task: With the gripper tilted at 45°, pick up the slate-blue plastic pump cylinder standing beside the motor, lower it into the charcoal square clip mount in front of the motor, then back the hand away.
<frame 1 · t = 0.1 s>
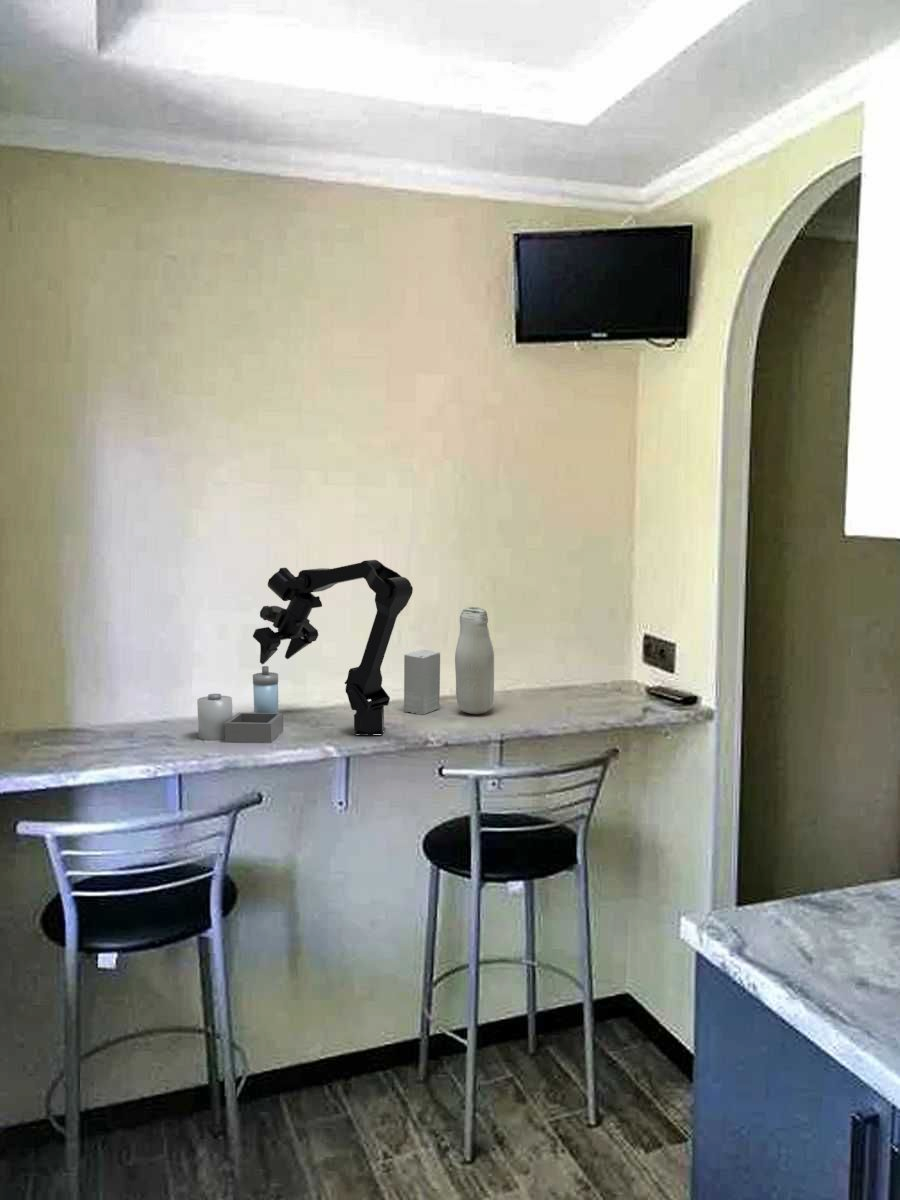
hand: (274, 660, 244), 15 cm above the table, tool tilted 35°, fingers open, 9 cm apart
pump: (266, 726, 236), on the table
motor mount: (242, 736, 226), on the table
skincare box: (422, 711, 252), on the table
glass bottle: (474, 714, 249), on the table
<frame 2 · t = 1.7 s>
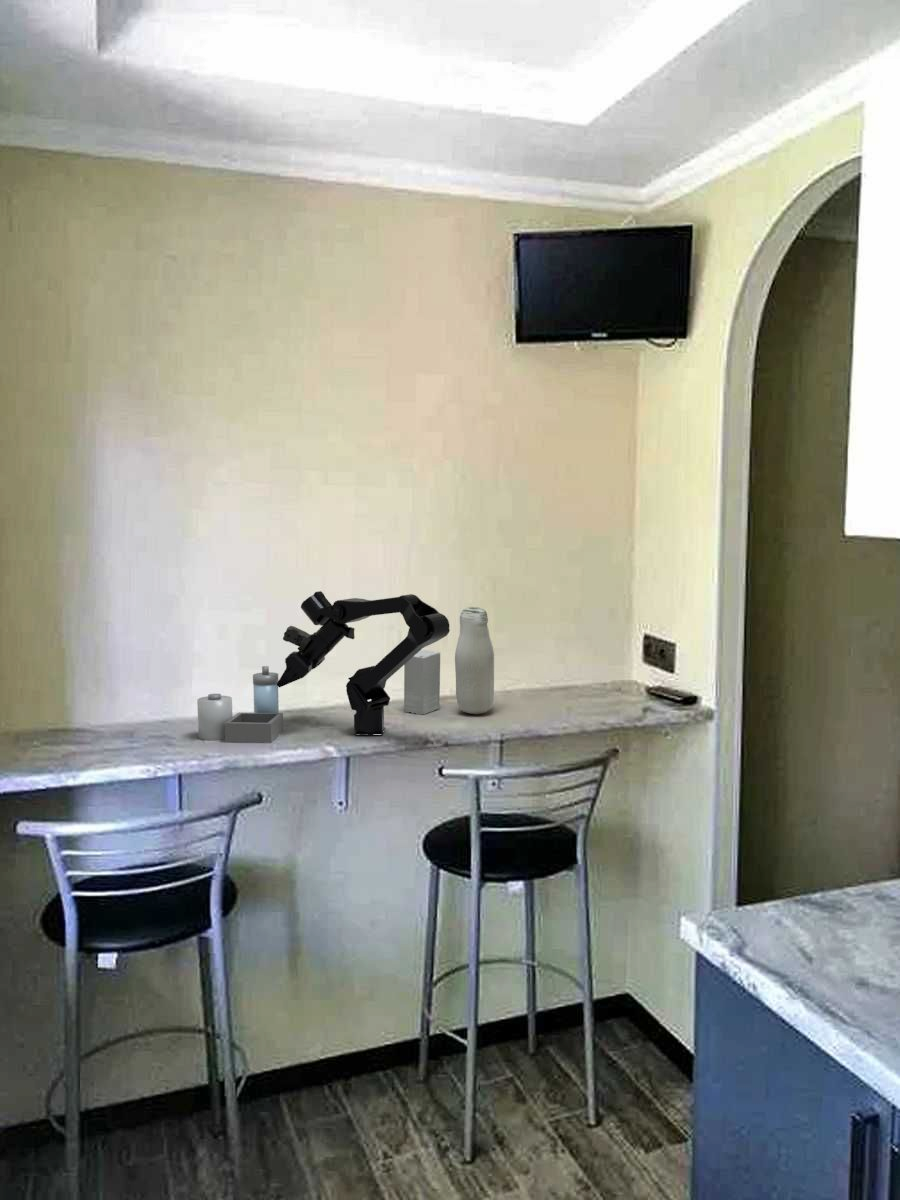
hand: (283, 682, 235), 11 cm above the table, tool tilted 45°, fingers open, 9 cm apart
nothing on the table moved.
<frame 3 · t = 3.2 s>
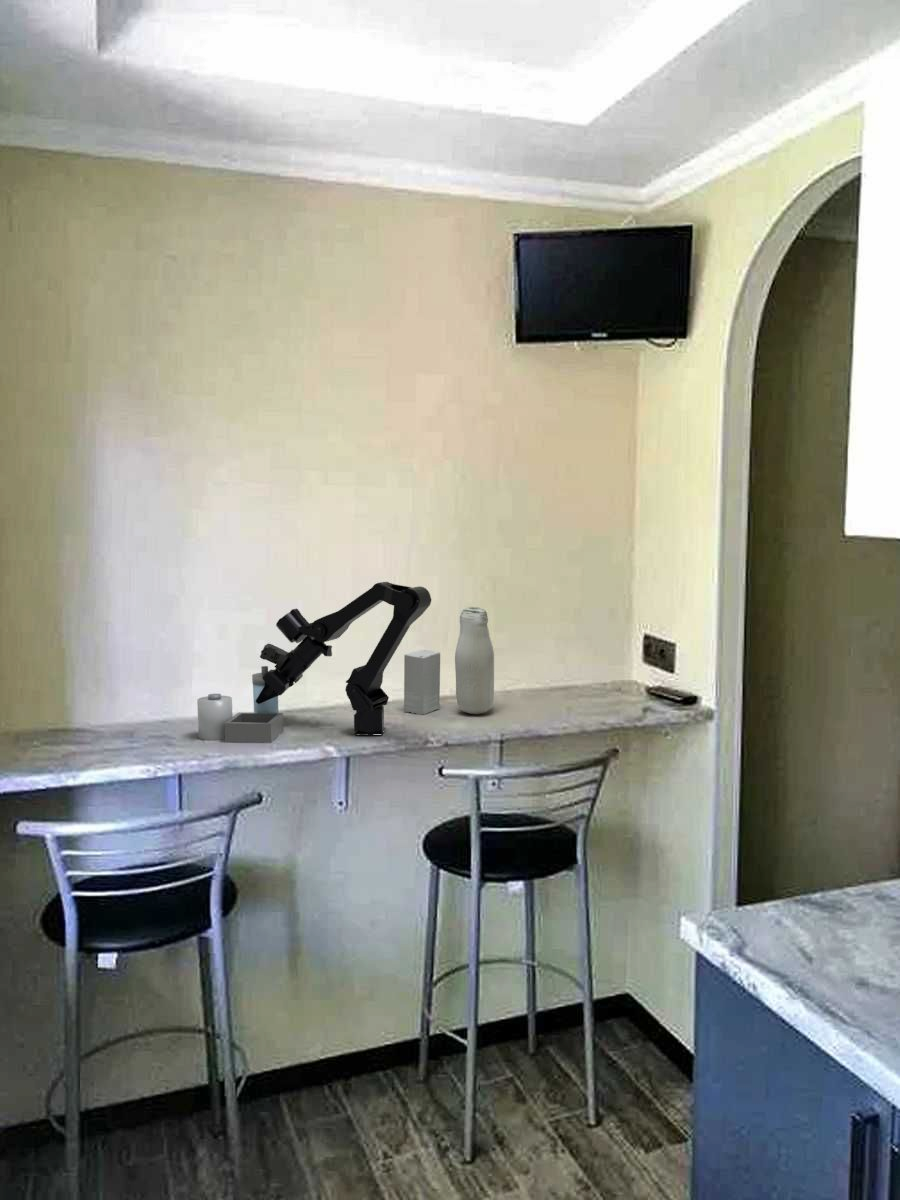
hand: (260, 699, 236), 7 cm above the table, tool tilted 45°, fingers closed on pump, 6 cm apart
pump: (266, 725, 236), on the table, touching gripper
everything else where it was.
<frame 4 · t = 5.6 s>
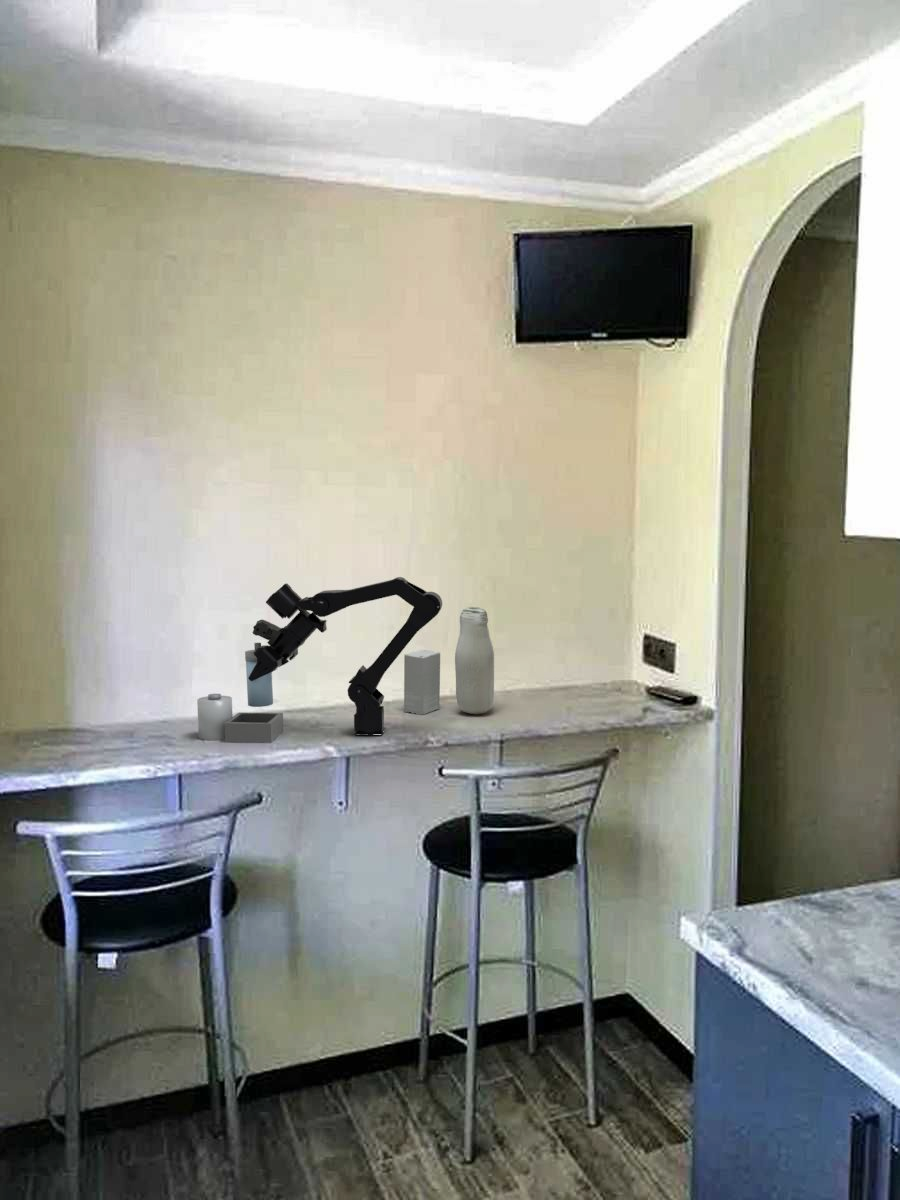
hand: (253, 677, 230), 13 cm above the table, tool tilted 45°, fingers closed on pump, 6 cm apart
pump: (260, 704, 230), point 7 cm above the table, touching gripper
everything else where it was.
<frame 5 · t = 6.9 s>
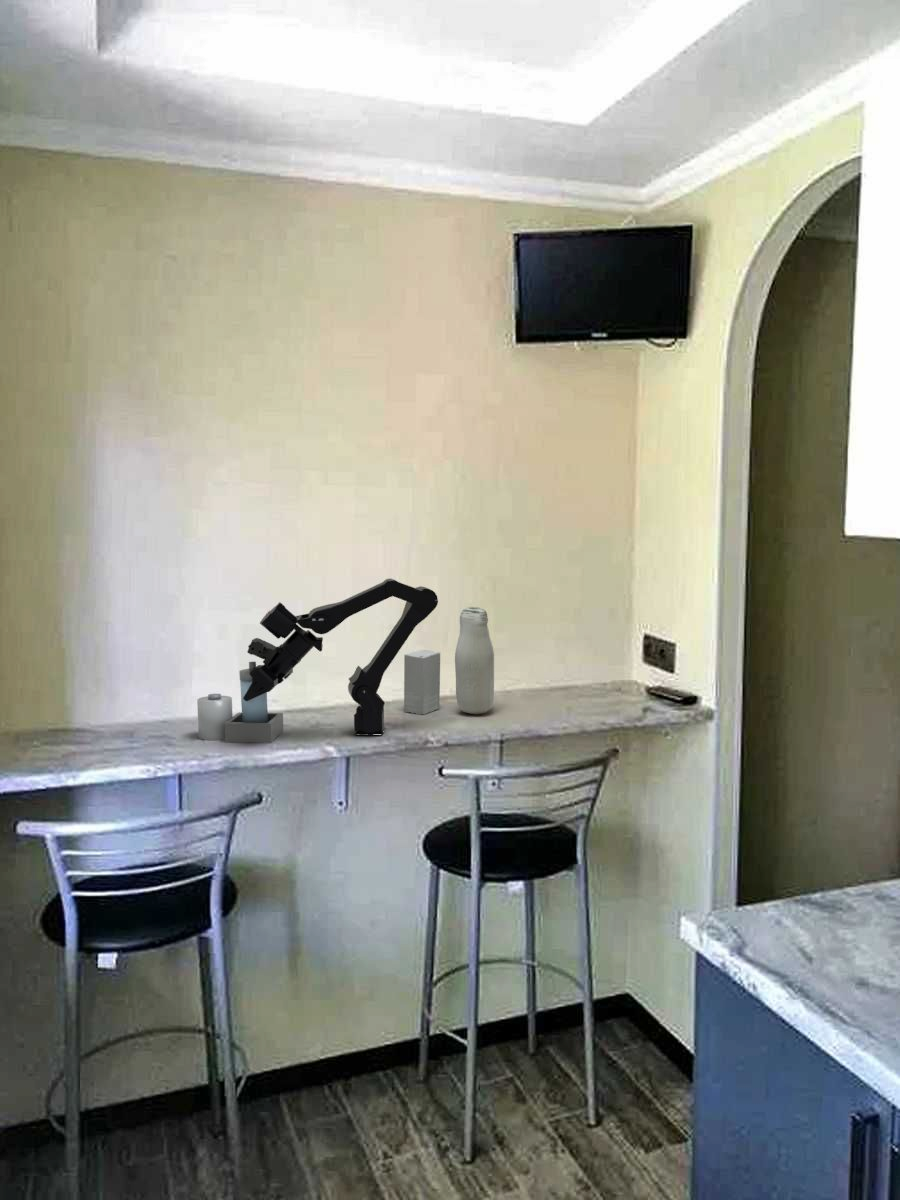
hand: (248, 697, 225), 10 cm above the table, tool tilted 45°, fingers closed on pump, 6 cm apart
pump: (255, 724, 226), point 3 cm above the table, touching gripper
everything else where it was.
when the fingers open (9 cm above the table, at t = 7.5 s): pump drops 1 cm, resting on motor mount.
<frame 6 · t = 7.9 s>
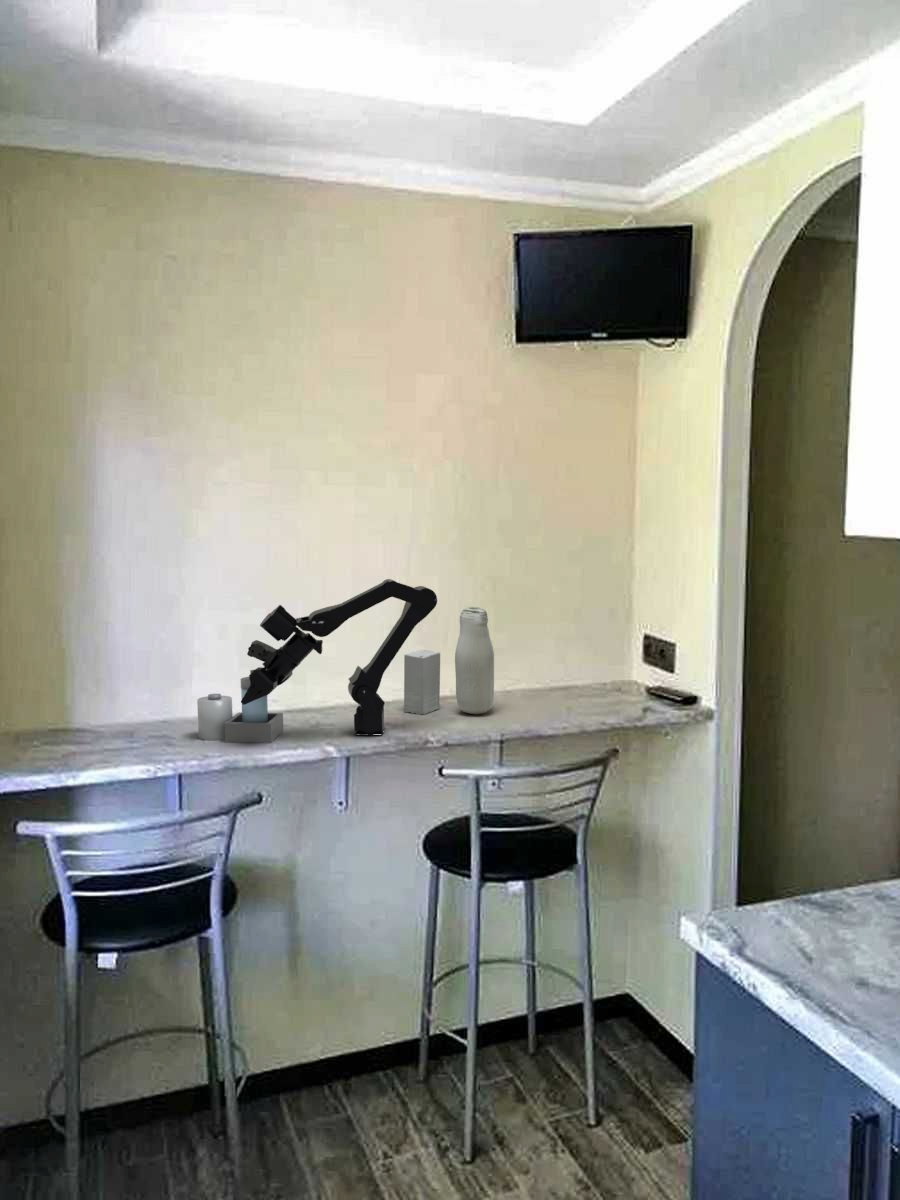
hand: (248, 699, 225), 9 cm above the table, tool tilted 45°, fingers open, 9 cm apart
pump: (255, 732, 226), point 1 cm above the table, touching motor mount
everything else where it was.
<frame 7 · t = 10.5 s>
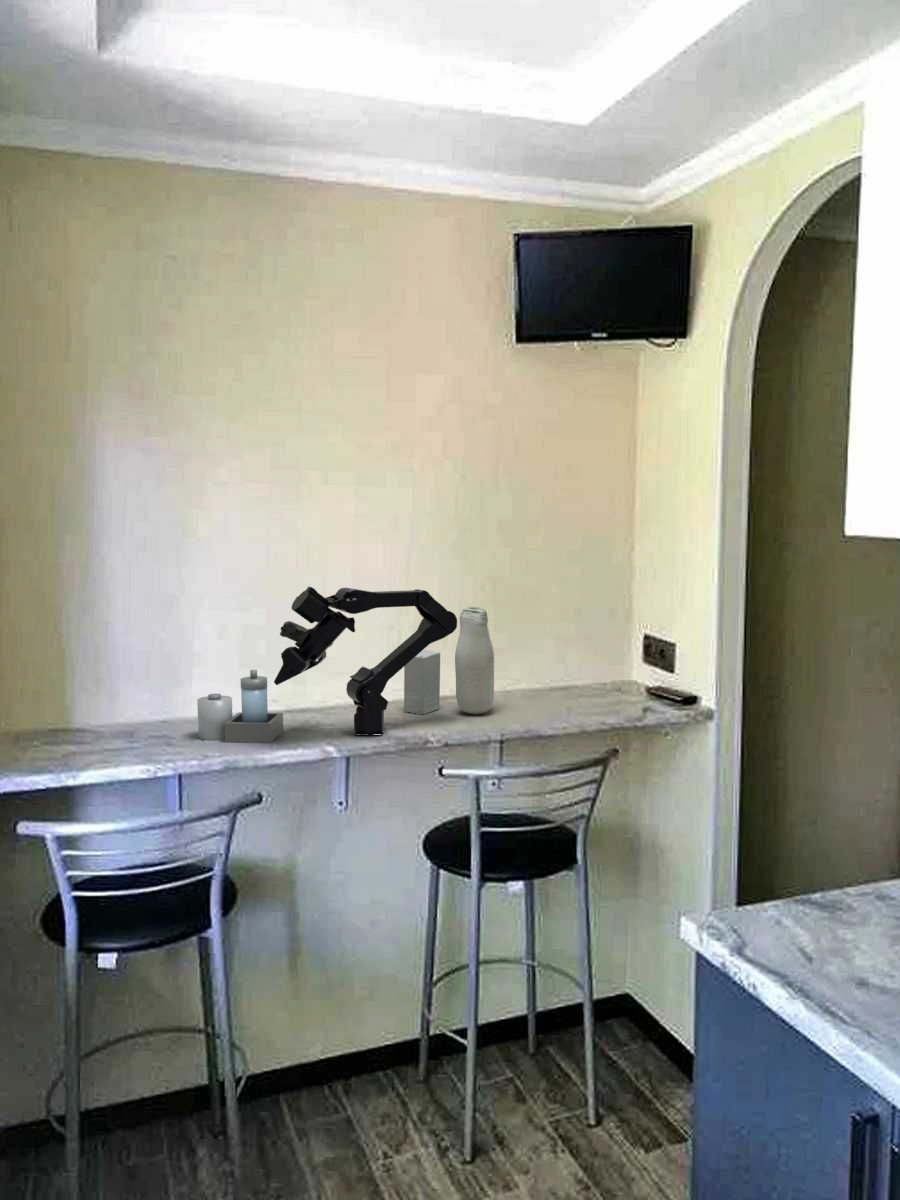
hand: (281, 680, 224), 14 cm above the table, tool tilted 45°, fingers open, 9 cm apart
nothing on the table moved.
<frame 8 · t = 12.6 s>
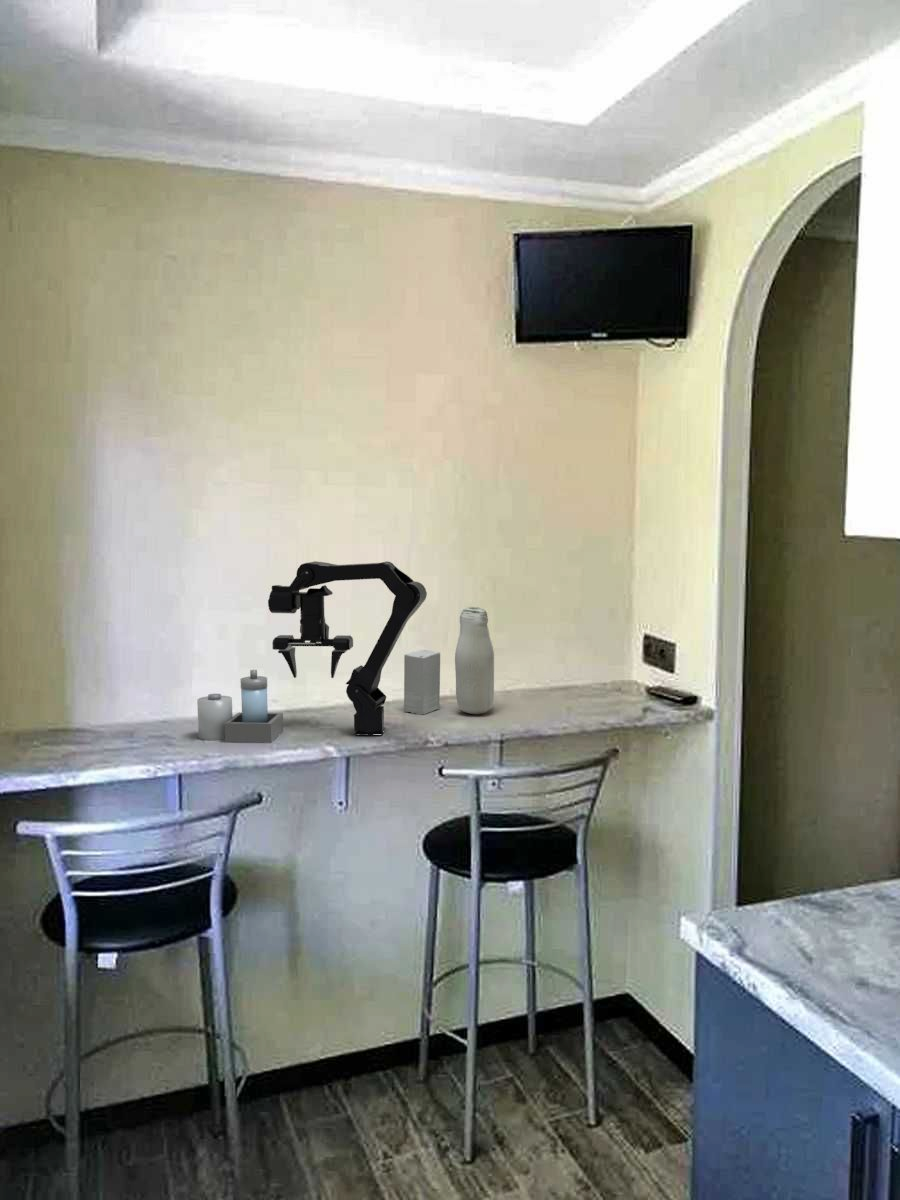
hand: (313, 677, 230), 13 cm above the table, tool pointing down, fingers open, 9 cm apart
nothing on the table moved.
at the end: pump 0.1 cm from the target spot on the motor mount, point 1.0 cm above the motor mount's base; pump tilted 0°; the gripper is holding nothing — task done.
